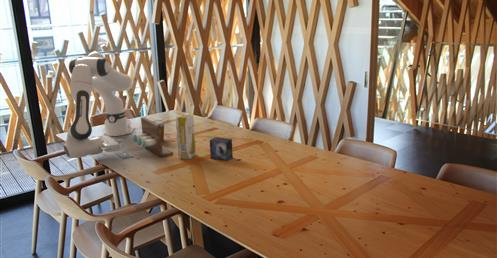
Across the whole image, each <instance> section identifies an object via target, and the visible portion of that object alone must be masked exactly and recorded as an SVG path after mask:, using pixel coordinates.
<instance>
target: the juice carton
mask: <svg viewBox="0 0 497 258" xmlns="http://www.w3.org/2000/svg"><path fill="white" fill-rule="evenodd" d="M194 120H195V119H194V115H193V114H192V113H191V114H190V113H187V112H186V113H184V114H183V113H182V114H180V115H179V116H177V117H176V118H175V128H176V129H175V130H176V142H177V152H178V157H179V159H181V160H183V159H184V160H191V159H192V158H193V157H194V156H196V136H195V124H194V123H195V121H194Z"/></svg>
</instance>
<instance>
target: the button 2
mask: <svg viewBox="0 0 497 258" xmlns="http://www.w3.org/2000/svg"><path fill="white" fill-rule="evenodd" d="M153 145H157V140H156V138H154V139H149V140H142V144H141V146H142V148H143V149H145V148H146V147H148V146H153Z"/></svg>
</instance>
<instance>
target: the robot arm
mask: <svg viewBox="0 0 497 258" xmlns="http://www.w3.org/2000/svg"><path fill="white" fill-rule="evenodd" d="M68 71H69V73H70V74H71V75H70V82H69V83H70V84H69V91H70V93H69V94H70V97H71V98H72V99H73V100H74V102H75V115H74V116H75V117H74V120H73V123H72V124H71V125H69V127H68V129H67V133H66V141H65V142H64V144H63V151H64V152H65V154H66V156H67V157H68V158H70V159H77V158H78V159H79V158H84V157H87V156H89V155H90V156H93V155H100V154H103V151H104V152H105V153H110V152H118V151H119V150H120V149H121V147H120V144H124V139H123V138H112V137H117V136H118V137H119V136H124V135H128V134H132V133H133V131H134V129H135V128H136V127H135V126H133V125H132V124H131V120H130V119H129V118H128V117H127V116H126V114H127V110H124V109H125V108H124V101H123V100H122V98H121V97H119V96H117V95H116V94H115V93H114V92H125V91H129V90H130V89H131V87H132V86H133V85H132V84H133V81H132V78H131V77H130V75H129V74H125V73H123V72H121V71H118V70H117V69H115V68H114V67H113V66H112V65H111V64H110V63H109V61H108V59H107V58H106V57H105V56H104V55H103V54H102V53H100V52H98V51H92V52H90V53H89V54H88V55H87V56H86V57H80V58H79V57H76V58H73V59H71V60H70V61H69V63H68ZM92 90H94V91H95V92H96V93H98V94H99V95H100V97H101V98H102V100H103V103H104V107H105V119H106V120H104V131H103V134H104V135H99V136H96V135H94V136H92V137H91V135H92V132H93V129H92V128H93V127H92V124H91V123H90V119H89V115H90V101H91V100H90V99H91V96H92V92H93V91H92ZM89 137H91V138H89Z"/></svg>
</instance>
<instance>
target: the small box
mask: <svg viewBox="0 0 497 258" xmlns="http://www.w3.org/2000/svg"><path fill="white" fill-rule="evenodd" d="M209 150H210V159H213V160H217V161H223V162H228V161H229V160H231V159H233V158H234V156H233V139H232V138H225V137H218V136H215V137H213V138H211V139H209Z"/></svg>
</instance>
